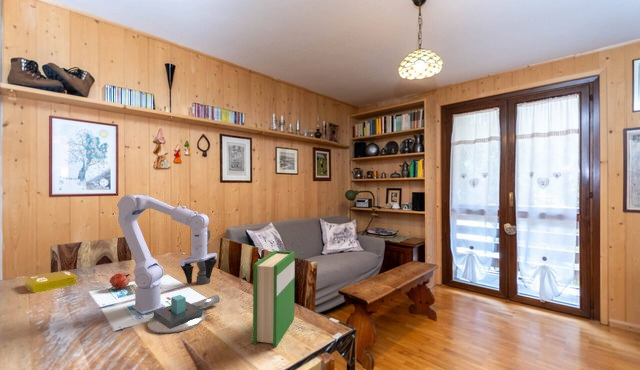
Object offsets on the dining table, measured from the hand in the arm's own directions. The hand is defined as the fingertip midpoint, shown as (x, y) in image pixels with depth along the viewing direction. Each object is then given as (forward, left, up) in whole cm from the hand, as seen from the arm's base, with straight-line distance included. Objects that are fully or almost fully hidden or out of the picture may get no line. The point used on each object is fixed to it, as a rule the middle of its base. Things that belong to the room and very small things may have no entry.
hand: (199, 280), depth 108 cm
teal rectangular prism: (+4, -10, -9) cm, 14 cm away
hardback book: (+36, +6, -11) cm, 38 cm away
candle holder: (-24, +16, -11) cm, 31 cm away
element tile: (-76, -30, -11) cm, 83 cm away
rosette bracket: (+4, -7, -10) cm, 13 cm away
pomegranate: (-46, -12, -11) cm, 49 cm away
